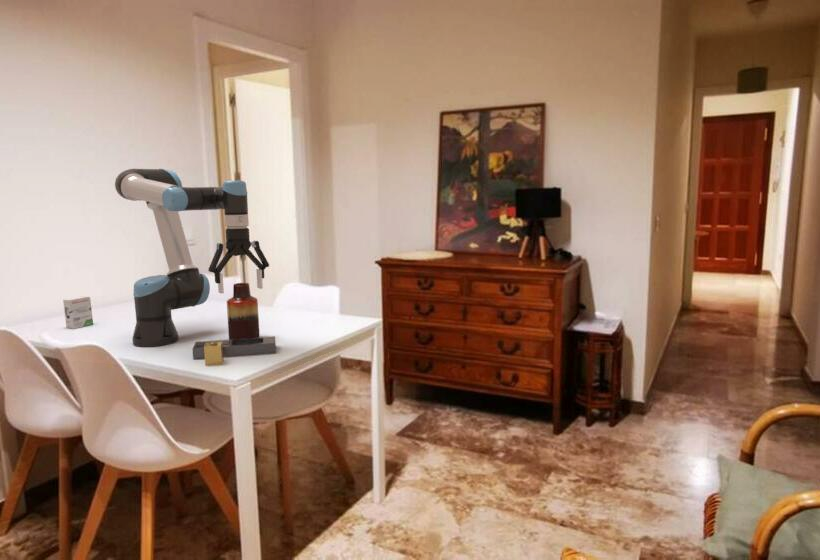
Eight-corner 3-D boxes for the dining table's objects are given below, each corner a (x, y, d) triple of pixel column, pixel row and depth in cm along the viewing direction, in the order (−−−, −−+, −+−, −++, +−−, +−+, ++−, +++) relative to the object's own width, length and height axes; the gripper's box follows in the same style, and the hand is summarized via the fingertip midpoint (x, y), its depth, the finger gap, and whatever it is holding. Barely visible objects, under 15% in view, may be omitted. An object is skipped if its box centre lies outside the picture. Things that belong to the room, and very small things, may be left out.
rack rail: (193, 359, 185) (192, 348, 184) (196, 351, 194) (195, 341, 193) (275, 353, 191) (275, 342, 190) (275, 346, 200) (275, 336, 199)
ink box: (87, 323, 238) (84, 295, 236) (93, 324, 236) (90, 296, 234) (65, 327, 231) (62, 298, 229) (72, 329, 228) (69, 300, 227)
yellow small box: (205, 365, 178) (203, 345, 177) (206, 361, 183) (205, 341, 182) (222, 364, 179) (220, 343, 178) (223, 359, 184) (222, 339, 183)
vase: (223, 339, 210) (220, 284, 207) (250, 333, 218) (247, 280, 214) (238, 344, 202) (234, 287, 199) (265, 338, 210) (262, 283, 207)
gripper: (203, 230, 180) (208, 296, 184) (276, 226, 196) (280, 287, 199) (195, 229, 186) (200, 293, 190) (267, 225, 202) (270, 285, 205)
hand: (241, 290), depth 194 cm, fingers open, 13 cm apart
